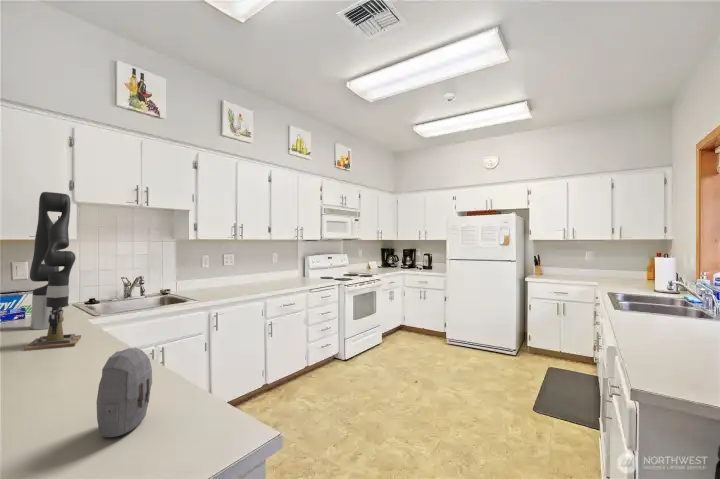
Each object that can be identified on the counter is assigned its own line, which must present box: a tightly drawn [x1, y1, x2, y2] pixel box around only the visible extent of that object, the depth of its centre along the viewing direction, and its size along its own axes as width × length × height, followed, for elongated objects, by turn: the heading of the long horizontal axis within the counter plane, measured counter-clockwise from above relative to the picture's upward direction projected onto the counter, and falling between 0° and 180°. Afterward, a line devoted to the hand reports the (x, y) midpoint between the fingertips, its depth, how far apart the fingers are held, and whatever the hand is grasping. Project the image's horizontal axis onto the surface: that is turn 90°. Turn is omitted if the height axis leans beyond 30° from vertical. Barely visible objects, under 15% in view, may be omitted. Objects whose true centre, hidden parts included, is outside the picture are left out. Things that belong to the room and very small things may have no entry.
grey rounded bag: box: [96, 347, 153, 438], centre depth 87 cm, size 15×8×20 cm, turn 4°
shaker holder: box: [24, 333, 82, 352], centre depth 153 cm, size 16×16×2 cm
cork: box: [46, 316, 65, 342], centre depth 154 cm, size 6×6×11 cm
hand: (55, 334), depth 154 cm, fingers closed on cork, 2 cm apart
